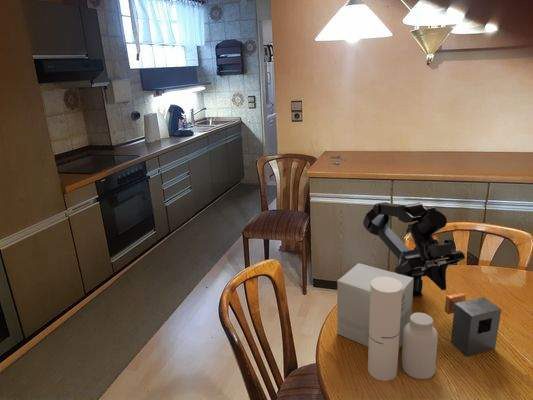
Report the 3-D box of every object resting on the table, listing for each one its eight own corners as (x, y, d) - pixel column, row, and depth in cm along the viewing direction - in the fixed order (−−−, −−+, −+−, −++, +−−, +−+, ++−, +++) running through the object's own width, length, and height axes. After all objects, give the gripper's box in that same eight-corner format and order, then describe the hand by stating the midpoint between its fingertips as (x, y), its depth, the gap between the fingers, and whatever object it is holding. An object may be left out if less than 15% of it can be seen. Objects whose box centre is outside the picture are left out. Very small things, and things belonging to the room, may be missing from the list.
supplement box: (411, 332, 114) (415, 277, 108) (393, 359, 104) (396, 299, 98) (357, 312, 124) (358, 261, 119) (335, 334, 115) (335, 280, 109)
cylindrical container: (398, 382, 96) (404, 293, 88) (368, 379, 98) (371, 291, 90) (395, 361, 103) (400, 277, 95) (367, 359, 104) (370, 275, 96)
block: (450, 342, 109) (455, 303, 105) (478, 335, 111) (483, 297, 107) (466, 356, 103) (471, 316, 99) (495, 349, 105) (501, 309, 101)
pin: (444, 311, 113) (446, 295, 111) (460, 307, 114) (462, 292, 112) (465, 328, 105) (467, 311, 103) (481, 324, 106) (484, 307, 105)
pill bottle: (407, 353, 106) (411, 305, 101) (439, 366, 101) (444, 316, 96) (396, 371, 100) (399, 321, 95) (428, 385, 95) (433, 333, 90)
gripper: (409, 235, 113) (430, 289, 106) (464, 226, 117) (488, 276, 111) (392, 248, 123) (411, 298, 116) (444, 239, 127) (465, 286, 120)
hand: (444, 290), depth 116 cm, fingers closed
